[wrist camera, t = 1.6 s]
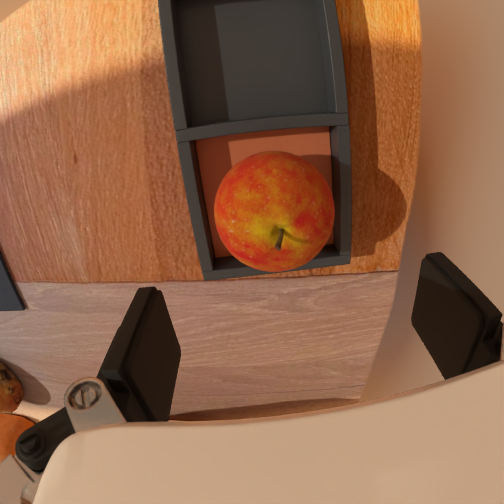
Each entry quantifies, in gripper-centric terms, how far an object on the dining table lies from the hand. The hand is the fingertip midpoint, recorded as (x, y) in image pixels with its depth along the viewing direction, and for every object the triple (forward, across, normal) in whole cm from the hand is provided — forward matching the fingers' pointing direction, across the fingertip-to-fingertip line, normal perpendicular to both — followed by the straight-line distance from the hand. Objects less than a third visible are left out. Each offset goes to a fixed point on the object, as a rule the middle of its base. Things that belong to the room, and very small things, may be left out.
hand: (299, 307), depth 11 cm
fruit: (+12, 0, 0) cm, 13 cm away
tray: (+13, 0, -5) cm, 14 cm away
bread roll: (+13, +41, +20) cm, 47 cm away
